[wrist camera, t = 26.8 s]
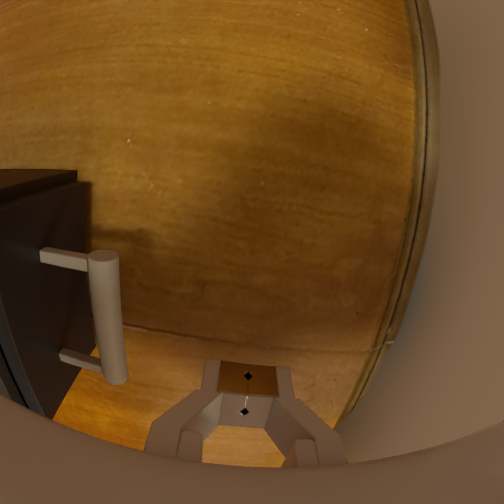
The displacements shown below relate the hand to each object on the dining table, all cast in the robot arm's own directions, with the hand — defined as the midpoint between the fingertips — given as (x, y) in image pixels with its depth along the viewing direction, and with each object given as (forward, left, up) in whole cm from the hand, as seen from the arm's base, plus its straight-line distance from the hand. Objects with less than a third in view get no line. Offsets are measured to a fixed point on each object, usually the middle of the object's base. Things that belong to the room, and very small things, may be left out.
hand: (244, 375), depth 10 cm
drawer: (+14, +1, -7) cm, 16 cm away
